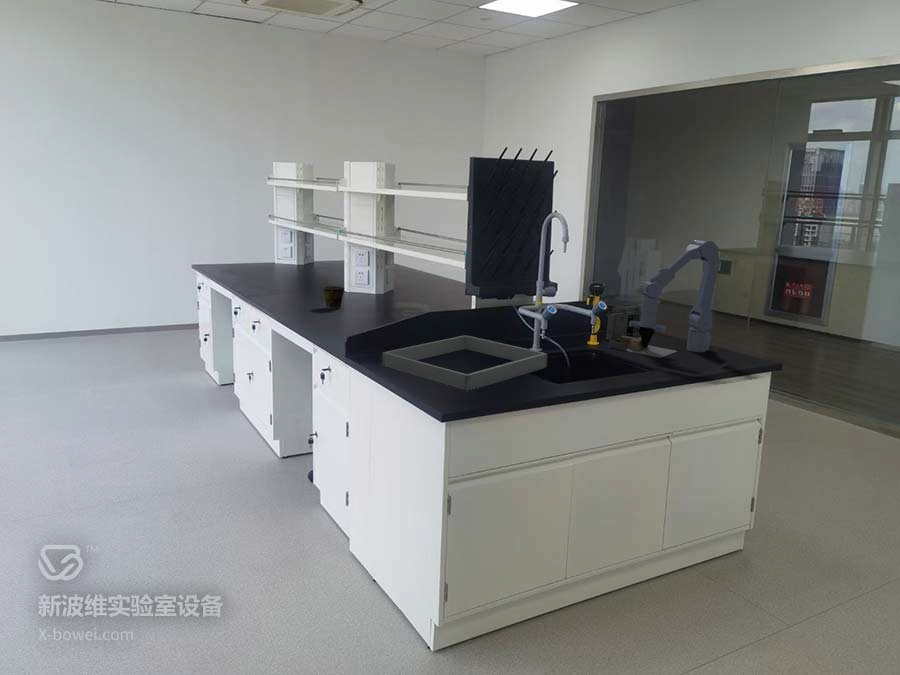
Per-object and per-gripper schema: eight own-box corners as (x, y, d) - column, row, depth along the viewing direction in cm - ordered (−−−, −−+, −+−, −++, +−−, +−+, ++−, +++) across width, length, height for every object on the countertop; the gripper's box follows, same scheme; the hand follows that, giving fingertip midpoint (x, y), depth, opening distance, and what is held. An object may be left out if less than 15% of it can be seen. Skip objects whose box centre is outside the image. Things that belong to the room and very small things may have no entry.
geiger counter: (616, 308, 287) (654, 304, 302) (604, 305, 292) (643, 301, 307) (612, 341, 290) (651, 335, 305) (601, 338, 295) (639, 332, 310)
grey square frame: (464, 347, 268) (465, 335, 267) (546, 367, 245) (547, 353, 244) (381, 367, 236) (382, 352, 235) (466, 391, 213) (467, 375, 211)
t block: (626, 343, 284) (627, 334, 283) (647, 347, 278) (647, 338, 277) (615, 346, 277) (616, 337, 276) (636, 350, 271) (637, 341, 270)
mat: (626, 343, 288) (626, 341, 287) (677, 353, 273) (678, 351, 273) (607, 349, 276) (607, 346, 275) (659, 360, 262) (660, 357, 261)
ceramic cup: (325, 305, 343) (325, 285, 341) (345, 306, 343) (345, 286, 341) (320, 310, 331) (320, 289, 329) (341, 311, 331) (341, 290, 329)
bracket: (626, 341, 287) (627, 335, 286) (643, 344, 282) (643, 338, 282) (608, 346, 275) (608, 341, 275) (625, 350, 271) (625, 344, 270)
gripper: (626, 311, 272) (623, 345, 275) (661, 316, 263) (658, 351, 266) (635, 309, 277) (631, 342, 280) (669, 314, 268) (666, 349, 271)
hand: (645, 346), depth 274 cm, fingers closed
